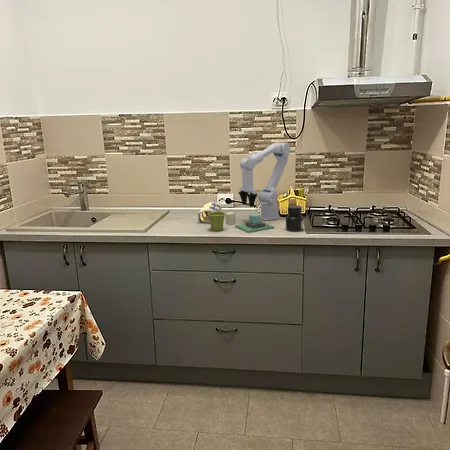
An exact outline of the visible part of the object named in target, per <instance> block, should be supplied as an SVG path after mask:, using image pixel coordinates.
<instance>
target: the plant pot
mask: <svg viewBox="0 0 450 450" xmlns="http://www.w3.org/2000/svg"><path fill="white" fill-rule="evenodd" d="M226 213H227V212H224V211H222V212H210V213H208V214H207V216H208V218H209V224H210V230H211V231H214V232H215V231H218V232H219V231H220V232H221V231H222V230H223V229H224V224H225V223H224V221H225V214H226Z"/></svg>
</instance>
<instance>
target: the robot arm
mask: <svg viewBox="0 0 450 450" xmlns="http://www.w3.org/2000/svg"><path fill="white" fill-rule="evenodd" d="M272 154H273V156H274V158H275V159H276V163H275V166H274V168H273V170H272V173H271V174H270V178H269V180H268V182H267V185H265V186H264V187H262V188H261V190H260V191H259V192H258V193H257V189H254V170H253V169H255V167H256V165H259V164H260V163H262V162H264V158H266V157H268V156H270V155H272ZM290 154H291V147H290V144H289V143H287V142H273V143H271V144H270V145H269V146H268V147H266V148H265V149H263V150H262V151H261V152H260V151H254V152H253V154H251V155H248V156H247V157H245V158H242V159H241V160H240V162H239V167H240V169H241V179H242V181H241V183H242V187H239V191H238V194H239V198H240V200H241V202H242V203H241V204H242V205H247V202H248V205H249V207H250V208H252V207H254V206H255V202H256V200H257V198H258V201H259V203H260V214H261V215H260V220H263V221H265V222H266V221H272V220H278V219H280V217H279V206H278V205H279V204H278V203H277V202H276V201H277V198H278V194H279V192H278V191H277V187H278V185H279V183H280V181H281V178H282V175H283V173H284V170H285V168H286V166H287V165H288V161H289V160H288V159H289V156H290Z"/></svg>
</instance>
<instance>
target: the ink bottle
mask: <svg viewBox="0 0 450 450" xmlns="http://www.w3.org/2000/svg"><path fill="white" fill-rule="evenodd" d="M285 230H286V231H288V232H301V231H303V230H304V216H303V215H302V206H301V205H289V206H288V207H287V216H285Z"/></svg>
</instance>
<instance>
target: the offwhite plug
mask: <svg viewBox="0 0 450 450" xmlns="http://www.w3.org/2000/svg"><path fill="white" fill-rule="evenodd" d="M225 213H226V214H225V217H224V221H225V225H229V226H232V225H237V222H236V220H237V219H236V212H232V211H230V212H225Z"/></svg>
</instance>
